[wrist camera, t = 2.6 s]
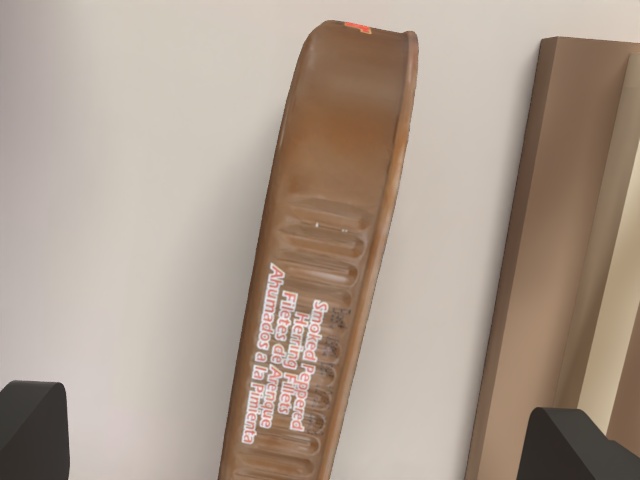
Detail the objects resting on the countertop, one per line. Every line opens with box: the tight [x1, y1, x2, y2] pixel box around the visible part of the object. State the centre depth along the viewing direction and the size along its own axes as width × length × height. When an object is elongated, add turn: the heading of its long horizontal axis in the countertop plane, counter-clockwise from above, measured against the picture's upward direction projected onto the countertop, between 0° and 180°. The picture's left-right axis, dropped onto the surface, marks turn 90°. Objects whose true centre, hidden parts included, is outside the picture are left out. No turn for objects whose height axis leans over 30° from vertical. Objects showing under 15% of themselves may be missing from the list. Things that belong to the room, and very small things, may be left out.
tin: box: [218, 20, 419, 480], centre depth 16 cm, size 15×3×8 cm, turn 169°
